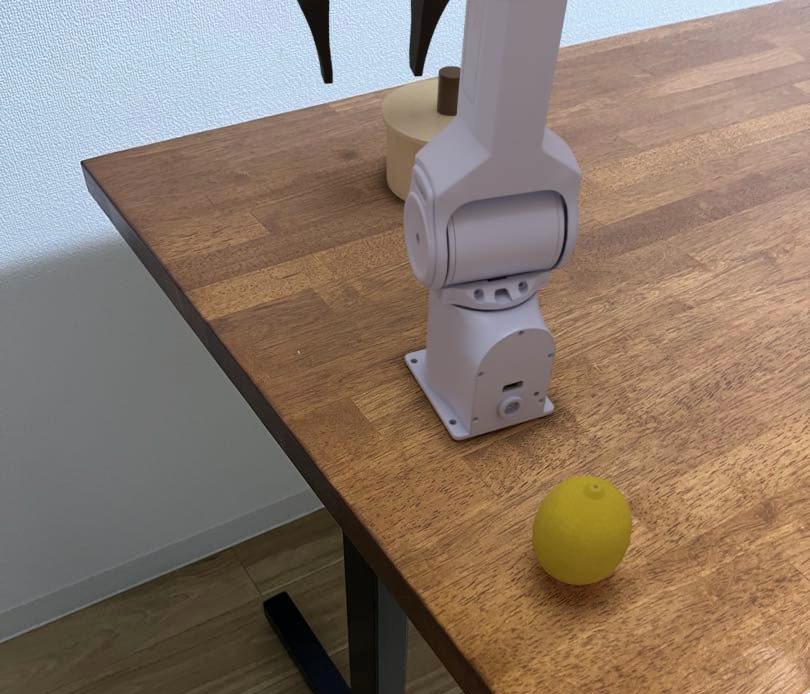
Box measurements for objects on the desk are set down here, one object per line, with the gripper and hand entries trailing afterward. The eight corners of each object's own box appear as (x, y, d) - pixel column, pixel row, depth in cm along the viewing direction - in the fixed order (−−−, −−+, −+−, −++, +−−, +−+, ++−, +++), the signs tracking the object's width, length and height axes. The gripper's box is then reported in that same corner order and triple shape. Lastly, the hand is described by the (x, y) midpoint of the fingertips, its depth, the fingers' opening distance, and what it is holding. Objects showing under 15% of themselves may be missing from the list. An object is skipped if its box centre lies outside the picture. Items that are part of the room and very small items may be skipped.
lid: (541, 142, 72) (549, 91, 68) (413, 167, 68) (414, 115, 65) (480, 82, 78) (485, 34, 75) (361, 103, 75) (360, 53, 72)
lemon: (611, 617, 48) (646, 534, 41) (518, 600, 48) (539, 516, 42) (615, 544, 51) (648, 457, 45) (528, 529, 52) (548, 442, 45)
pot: (525, 197, 76) (535, 133, 71) (414, 221, 73) (416, 156, 68) (473, 141, 82) (479, 79, 78) (369, 161, 79) (368, 98, 75)
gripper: (453, -148, 61) (442, 48, 72) (260, -141, 59) (280, 61, 70) (478, -120, 57) (463, 83, 68) (272, -111, 55) (291, 98, 65)
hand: (371, 75), depth 68 cm, fingers open, 7 cm apart
